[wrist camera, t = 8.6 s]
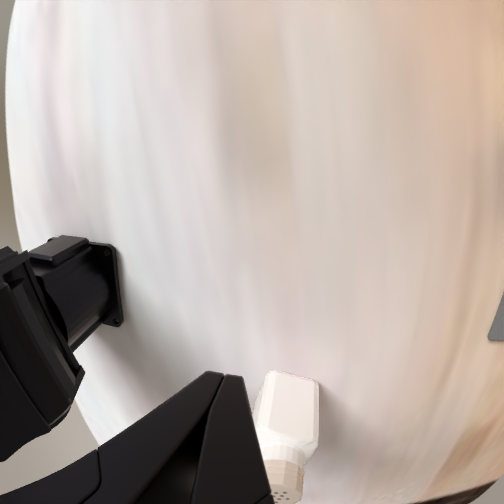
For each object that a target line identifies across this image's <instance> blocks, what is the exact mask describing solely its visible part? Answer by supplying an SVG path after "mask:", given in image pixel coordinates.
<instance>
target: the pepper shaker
mask: <svg viewBox="0 0 504 504" xmlns="http://www.w3.org/2000/svg"><path fill="white" fill-rule="evenodd" d="M252 417H253V421H254V425H255V429H256V433H257V437H258V441H259V445H260V449H261V453H262V457H263V461H264V465H265V468H266V472H267V476H268V480H269V484H270V487H271V491H272V493H271V494H272V495H273V498H274V502H275V504H294V503H296V502H298V501H300V500H301V497H302V491H303V477H304V469H303V466H304V465H305V464H306V463H307V462H308V460H309V459H310V458H311V456H312V455H313V453H314V452H315V450H316V448H317V447H318V434H319V385H318V383H317V382H316V381H314V380H312V379H308V378H304V377H300V376H296V375H293V374H289V373H285V372H282V371H278V370H271V371H270V372H269V373H268V374H267V375H266V378H265V380H264V382H263V385H262V387H261V389H260V392H259V394H258V396H257V399H256V402H255V406H254V411H253V415H252Z"/></svg>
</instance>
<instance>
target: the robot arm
mask: <svg viewBox="0 0 504 504" xmlns="http://www.w3.org/2000/svg"><path fill="white" fill-rule="evenodd" d="M107 250H109V252H110V254H108V252H107ZM116 319H117V320H118V321H116ZM101 324H106V325H110V326H114V327H120V326H121V325H122V324H123V313H122V306H121V298H120V290H119V281H118V272H117V262H116V251H115V248H114V247H113V246H112V245H111V244H105V243H96V242H89V240H88V239H87V238H82V237H73V236H65V235H62V236H60V237H58V238H56V237H52V238H50V239H49V240H48V241H47V243H45V244H43V245H41V246H39V247H37V248H35V249H33V250H31V251H29V252H28V251H27V250H26V251H23V252H21V253H19V254H18V252H17V251H16V252H14V251H13V250H12V249H10V248H9V247H8V246H7V247H4V248H2V249H0V462H3V461H5V460H7V459H8V458H9V457H10V456H11V455H12V454H14V453H15V452H16V451H17V450H18V449H20V448H21V447H22V446H23V445H25V444H26V443H28V442H30V441H31V440H33V439H35V438H36V437H39V436H41V435H44V434H46V433H49V432H50V431H51V429H53V428H54V427H55V426H57V425H58V424H59V423H60V422H61V421H62V420H63V419H64V418H65V417H66V416H67V414H68V412H69V410H70V408H71V405H72V403H73V400H74V398H75V396H76V393H77V391H78V388H79V386H80V384H81V381H82V379H83V377H84V375H85V371H84V369H83V368H82V366H81V365H79V363H78V361H77V360H76V358H75V356H74V354H73V352H74V351H75V350H76V349H77V348H78V347H79V346H80V345H81V344H82V343H83V342H84V341H85V340H86V339H87V338H88V337H89V336H90V335H91V334H92V333H93V332H94V331H95V330H96V329H97V328H98V327H99V326H100V325H101ZM271 493H272V491H271V487H270V484H269V480H268V476H267V472H266V468H265V465H264V461H263V457H262V453H261V449H260V445H259V441H258V437H257V433H256V429H255V425H254V421H253V417H252V412H251V408H250V404H249V400H248V396H247V392H246V387H245V383H244V379H243V377H242V376H237V375H230V374H226V375H225V376H224V374H223V373H219V372H213V371H206V372H205V373H203V374H202V375H201V376H199V377H198V378H197V379H195V380H194V381H193V382H191V383H190V384H188V385H187V386H186V387H184V388H183V389H182V390H180V391H179V392H178V393H176V394H175V395H173V396H172V397H171V398H169V399H168V400H167V401H165V402H164V403H162V404H161V405H160V406H158V407H157V408H155V409H154V410H153V411H151V412H150V413H148V414H147V415H145V416H144V417H143V418H141V419H140V420H138V421H137V422H135V423H134V424H132V425H131V426H129V427H128V428H127V429H125V430H124V431H122V432H121V433H119V434H118V435H116V436H115V437H113V438H112V439H110V440H109V441H107V442H106V443H104V444H103V445H101V446H100V447H98V450H96V449H95V450H94V451H92V452H90V453H88V454H87V455H85V456H84V457H82V458H81V459H79V460H77V461H75V462H74V463H72V464H70V465H68V466H67V467H65V468H63V469H61V470H59V471H57V472H55V473H53V474H51V475H49V476H47V477H45V478H42V479H40V480H38V481H35V482H33V483H31V484H28V485H26V486H23V487H21V488H19V489H16V490H13V491H11V492H8V493H6V494H3V495H0V504H275V502H274V498H273V495H272V494H271Z"/></svg>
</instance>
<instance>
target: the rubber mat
mask: <svg viewBox="0 0 504 504" xmlns="http://www.w3.org/2000/svg"><path fill="white" fill-rule="evenodd" d="M488 338H489V339H490V340H504V293H503V297H502V299H501V302H500V305H499V308H498V311H497V314H496V316H495V319H494V322H493V324H492V327H491V329H490V332H489V334H488Z"/></svg>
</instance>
